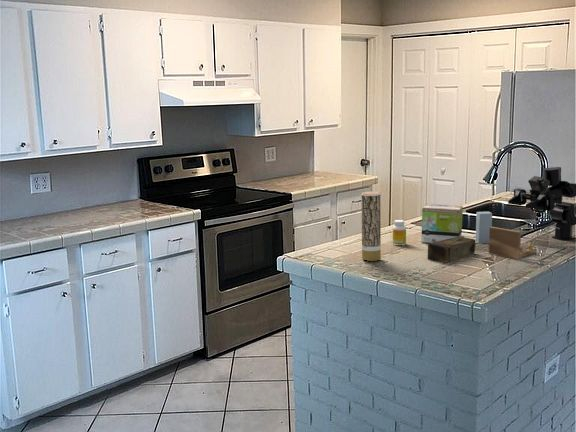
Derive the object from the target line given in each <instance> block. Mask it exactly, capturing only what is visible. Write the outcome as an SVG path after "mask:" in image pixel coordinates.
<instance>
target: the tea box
mask: <svg viewBox="0 0 576 432" xmlns="http://www.w3.org/2000/svg"><path fill="white" fill-rule="evenodd" d="M463 209H464V208H463V205H456V204H438V203H437V204H436V203H435V204H434V203H426V204H425V205H424V206H423V207H422V210H421V243H427V244H429V243H433V242H437V241H441V240H445V239H449V238H454V237H458V236H463V235H462V233H463Z"/></svg>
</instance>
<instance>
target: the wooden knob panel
mask: <svg viewBox="0 0 576 432" xmlns="http://www.w3.org/2000/svg"><path fill="white" fill-rule="evenodd" d="M521 240H522V232H521V231H520V230H515V229H508V228H501V227H496V226H492V227H490V231H489V243H488V254H491V255H493V256H494V255H495V256H499V257H505V258H508V259H513V260H520V259H521V258H524V257H527V256H530V255H532V254H536V253H537V249H536V248H533V244H532V243H528V248H527V249H526V248H525V249H524V246H522V245H521V243H522V241H521ZM526 255H527V256H526ZM523 256H524V257H523ZM520 257H521V258H520Z"/></svg>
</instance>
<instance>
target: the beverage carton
mask: <svg viewBox="0 0 576 432" xmlns="http://www.w3.org/2000/svg"><path fill="white" fill-rule="evenodd" d="M475 252H476V238H475V239H473V238H470V237H466V236H464V235H462V236H458V237H454V238H449V239H445V240H441V241H437V242H433V243H427V259H426V260H430V261H434V262H438V263H442V264H444V263H447V262H448V263H449V262H452V261H455V260H459V259H462V258H465V257H469V256H472V255H474V254H475Z"/></svg>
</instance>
